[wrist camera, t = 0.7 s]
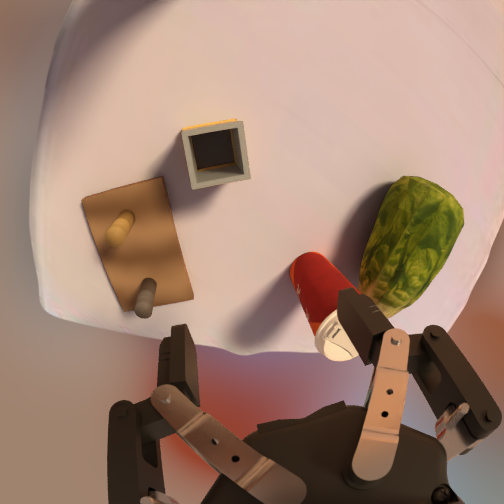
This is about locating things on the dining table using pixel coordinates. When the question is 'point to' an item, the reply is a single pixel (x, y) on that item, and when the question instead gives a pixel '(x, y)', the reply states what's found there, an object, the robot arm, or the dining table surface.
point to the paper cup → (322, 303)
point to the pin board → (139, 245)
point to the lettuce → (409, 243)
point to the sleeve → (220, 172)
